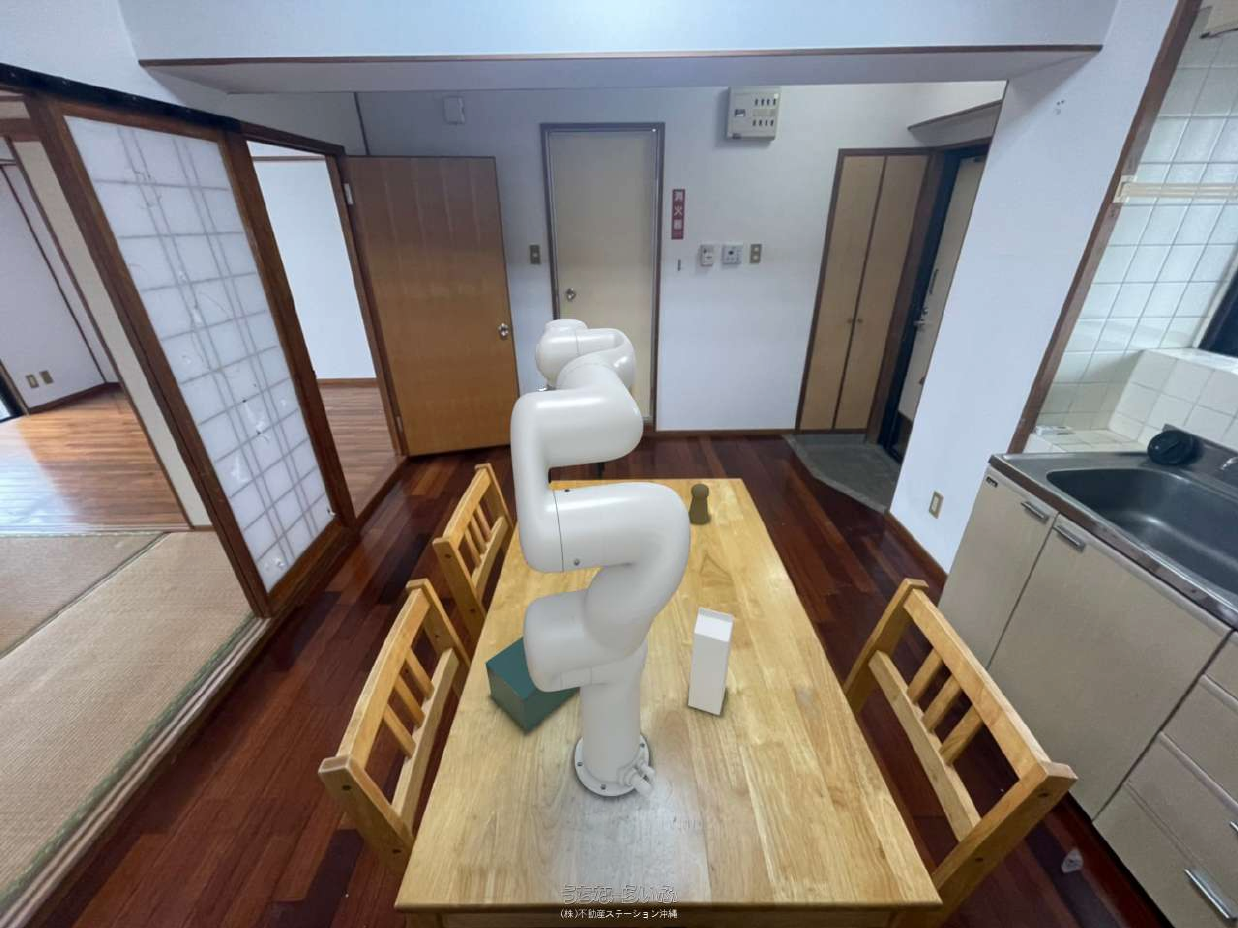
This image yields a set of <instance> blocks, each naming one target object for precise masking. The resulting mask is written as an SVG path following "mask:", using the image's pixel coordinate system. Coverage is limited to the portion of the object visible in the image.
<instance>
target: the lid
mask: <svg viewBox="0 0 1238 928" xmlns="http://www.w3.org/2000/svg"><path fill="white" fill-rule="evenodd" d="M484 663H485V667H486V666H487V667H488V668H489V669H490V670H491V671H492V672H493V673H494V674H495V675H496V676H497V677H498V678H499V679H500V680H501V681H502V682H503V683H504V684H506V685H507V686H508V687H509V688H510V689H511V690H512V691H513V692H514V693H515V694H516V695H517V696H518V697H519V698H520V699H521V700H522V701H524V700H525V699H527V698H528V697H529V696H530V695H532V694H533V693H534V692H535V691H537V690H538V688H537V687H536V686H535V684H534V683H533V681H532V679H531V677H530V674H529V670H528V666H527V661H526V655H525V649H524V642H523V636H521V637H519V638H518V639H517V640H515V641H514V642H513V643H511V644H509V645H508V646H506V647H505V648H504V649H502V650H501V651H499V652H498V653H497V654H495V655H494V656H492V657H491V658H489V659H488V660H487V661H486V662H484Z"/></svg>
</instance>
